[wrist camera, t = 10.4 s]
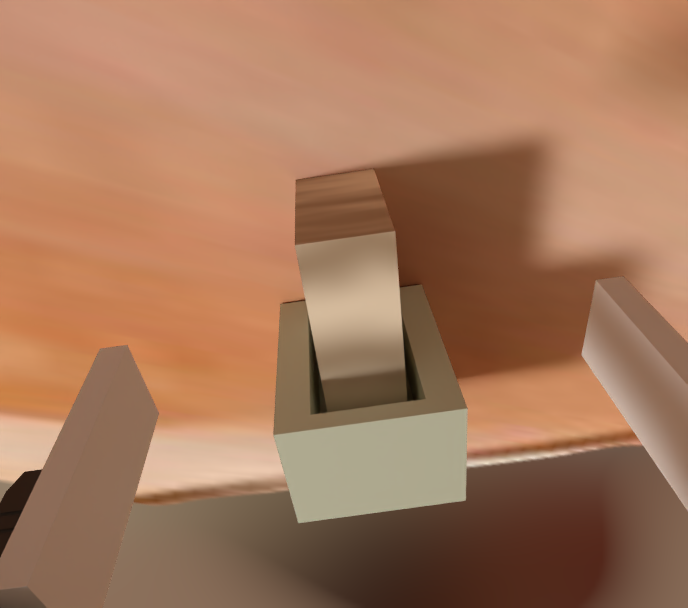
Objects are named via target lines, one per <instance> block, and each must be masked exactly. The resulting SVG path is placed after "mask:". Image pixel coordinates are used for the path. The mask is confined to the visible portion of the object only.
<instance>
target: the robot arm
mask: <svg viewBox="0 0 688 608" xmlns="http://www.w3.org/2000/svg"><path fill="white" fill-rule="evenodd" d="M582 357H583V358H584V359H585V361H586V362H587V364H588V365H589V367H590V368H591V370H592V371H593V373H594V374H595V376H596V377H597V379H598V380H599V381H600V383H601V384H602V386H603V387H604V389H605V390H606V392H607V393H608V395H609V396H610V398H611V399H612V401H613V402H614V403H615V405H616V406H617V408H618V409H619V411H620V412H621V414H622V415H623V417H624V418H625V420H626V421H627V423H628V424H629V425H630V427H631V428H632V430H633V431H634V433H635V434H636V436H637V437H638V439H639V440H640V442H641V443H642V445H643V446H644V447H645V449H646V450H647V452H648V453H649V455H650V456H651V458H652V459H653V461H654V462H655V463H656V465H657V466H658V468H659V469H660V471H661V472H662V474H663V475H664V477H665V478H666V480H667V481H668V483H669V484H670V486H671V487H672V489H673V490H674V491H675V493H676V494H677V496H678V497H679V498H680V500H681V502H682V503H683V505H684V506H685V508H686V509H687V511H688V343H687V342H686V341H685V339H684V338H683V337H682V336H681V335H680V334H679V333H678V332H677V331H676V330H675V329H674V328H673V327H672V326H671V325H670V324H669V323H668V322H667V321H666V320H665V319H664V318H663V317H662V316H661V315H660V314H659V313H658V311H657V310H656V309H655V308H654V307H653V306H652V305H651V304H650V303H649V302H648V301H647V300H646V299H645V298H644V297H643V296H642V295H641V294H640V293H639V292H638V291H637V290H636V289H635V288H634V287H633V286H632V285H631V283H630V282H629V281H628V280H627V279H626V278H625V277H624V276H620V277H613V278H606V279H599V280H596V282H595V287H594V292H593V297H592V303H591V308H590V313H589V318H588V323H587V329H586V334H585V339H584V344H583V349H582ZM158 415H159V412H158V410H157V408H156V406H155V404H154V401H153V399H152V397H151V395H150V393H149V391H148V389H147V386H146V384H145V382H144V380H143V378H142V376H141V373H140V371H139V369H138V367H137V365H136V363H135V361H134V358H133V356H132V354H131V352H130V350H129V348H128V345H124V346H116V347H109V348H102V349H100V350H99V352H98V354H97V356H96V358H95V361H94V363H93V365H92V367H91V369H90V371H89V373H88V375H87V377H86V379H85V381H84V384H83V386H82V388H81V390H80V392H79V394H78V396H77V398H76V400H75V402H74V404H73V407H72V409H71V411H70V413H69V415H68V417H67V419H66V421H65V423H64V425H63V427H62V430H61V432H60V434H59V436H58V438H57V440H56V442H55V444H54V446H53V448H52V450H51V453H50V455H49V457H48V459H47V461H46V463H45V465H44V467H43V469H42V470H35V471H28V472H24V473H23V474H22V475H21V476H20V477H19V478H18V480H17V481H16V482H15V483H14V484H13V485H12V486H11V487H10V488H9V489H8V490H7V491H6V493H5V495H4V497H3V499H2V501H1V502H0V608H103V605H104V601H105V598H106V594H107V591H108V587H109V584H110V580H111V577H112V574H113V570H114V567H115V563H116V560H117V556H118V553H119V549H120V546H121V542H122V539H123V535H124V532H125V529H126V525H127V522H128V518H129V515H130V511H131V508H132V505H133V501H134V498H135V494H136V491H137V487H138V484H139V480H140V477H141V474H142V470H143V467H144V463H145V460H146V456H147V453H148V449H149V446H150V442H151V439H152V436H153V432H154V429H155V425H156V422H157V418H158Z"/></svg>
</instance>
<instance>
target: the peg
mask: <svg viewBox="0 0 688 608" xmlns="http://www.w3.org/2000/svg"><path fill="white" fill-rule="evenodd" d="M295 249H296V254H297V259H298V264H299V269H300V274H301V279H302V284H303V290H304V295H305V300H306V305H307V310H308V315H309V320H310V325H311V331H312V336H313V341H314V346H315V351H316V356H317V361H318V366H319V371H320V377H321V382H322V387H323V392H324V397H325V402H326V407H327V412H335V411H342V410H349V409H356V408H364V407H371V406H378V405H386V404H393V403H400V402H407V401H408V400H407V387H406V373H405V359H404V345H403V331H402V317H401V303H400V289H399V276H398V262H397V248H396V234H395V229H394V226H393V223H392V220H391V217H390V214H389V211H388V208H387V206H386V203H385V200H384V197H383V194H382V191H381V188H380V185H379V182H378V179H377V177H376V174H375V171H374V169H369V170H362V171H355V172H348V173H341V174H334V175H327V176H320V177H313V178H306V179H299V180H296V195H295Z"/></svg>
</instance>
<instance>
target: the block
mask: <svg viewBox="0 0 688 608" xmlns="http://www.w3.org/2000/svg"><path fill="white" fill-rule="evenodd" d="M399 289H400V303H401V317H402V331H403V345H404V359H405V373H406V387H407V400H408V401H407V402H400V403H393V404H386V405H378V406H371V407H364V408H356V409H349V410H342V411H335V412H327V407H326V402H325V397H324V392H323V387H322V382H321V377H320V371H319V366H318V361H317V356H316V351H315V346H314V341H313V336H312V331H311V325H310V320H309V315H308V310H307V305H306V301H299V302H292V303H285V304H280V320H279V339H278V358H277V376H276V395H275V414H274V433H273V435H274V439H275V442H276V446H277V449H278V453H279V456H280V460H281V464H282V467H283V471H284V474H285V478H286V481H287V485H288V488H289V492H290V495H291V499H292V502H293V506H294V509H295V513H296V516H297V520H298V523H302V522H310V521H317V520H325V519H332V518H340V517H346V516H354V515H362V514H369V513H376V512H384V511H390V510H399V509H406V508H413V507H421V506H427V505H435V504H442V503H450V502H457V501H465V500H466V459H467V410H468V408H467V406H466V403H465V400H464V398H463V395H462V392H461V389H460V387H459V384H458V381H457V379H456V376H455V373H454V370H453V368H452V365H451V362H450V360H449V357H448V354H447V351H446V349H445V346H444V343H443V341H442V338H441V335H440V332H439V330H438V327H437V324H436V322H435V319H434V316H433V314H432V311H431V308H430V305H429V303H428V300H427V297H426V295H425V292H424V289H423V286H422V285H414V286H407V287H400V288H399Z"/></svg>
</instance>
